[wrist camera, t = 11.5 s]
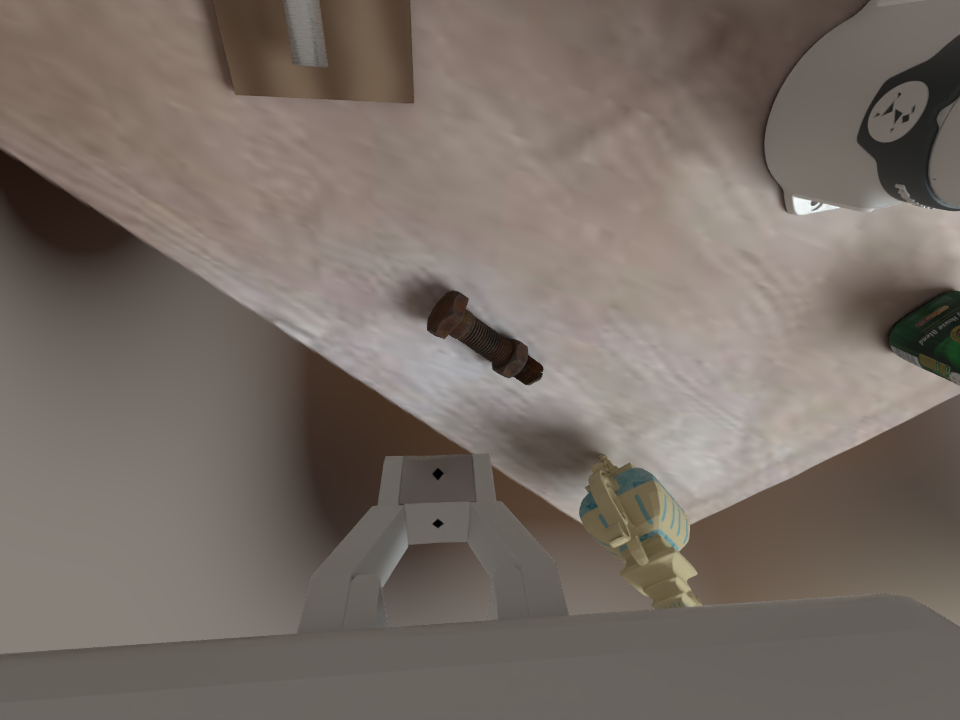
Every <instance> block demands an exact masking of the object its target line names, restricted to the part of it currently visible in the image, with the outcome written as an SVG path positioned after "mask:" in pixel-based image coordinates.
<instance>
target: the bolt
mask: <svg viewBox="0 0 960 720" xmlns="http://www.w3.org/2000/svg"><path fill="white" fill-rule="evenodd" d="M468 300H469V299H468V298H467V297H466V296H464V295H463V294H462V293H460V292H457V291H451V292H449V293H447V294H446V295H445V296H444V297H443V298H442V299H441V300H440V301H439V302H438V303H437V305H436V306H435V308H434V309H433V311H432V312H431V314H430V316H429V318H428V322H427V331H429V332H430V333H432V334H433V335H435V336H437V337H440V338H443V339H445V338H446V337H447V336H448V335H450V336H452V337H453V338H455V339H458V340H459V341H461V342H463V343H464V344H465V345H467V346H468V347H470V348H471V349H472V350H474V351H476V352H477V353H479V354H481V355H482V356H483V357H485V358H486V359H488V360H489V361H491V362H492V369H493V370H494V371H495V372H497V373H498V374H500V375H502V376H504V377H507V378H511V377H515V378H516V379H518V380H519V381H521V382H522V383H523V384H525V385H531V384H533V383H535V382H537V381H539V380H540V379H541V378H542V374H543V373H541V372H543V366H542V365H541V364H540V363H538V362H537V361H535V360H534V359H533V358H531V357H530V356H529V355H528V347H527V346H526V345H525V344H523V343H522V342H520V341H518V340H515V339H510V340H507V339H505V338H504V337H502V336H501V335H500V334H498V333H497V332H495V331H494V330H493V329H491V328H490V327H488V326H487V325H486V324H484V323H483V322H482V321H480V320H479V319H477V318H476V317H475V316H473V314H472V313H471V312H469V311H468V310H467V309H466V306H467V303H468Z"/></svg>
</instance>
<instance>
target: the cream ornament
mask: <svg viewBox="0 0 960 720" xmlns="http://www.w3.org/2000/svg"><path fill="white" fill-rule="evenodd" d="M599 457H600V459H601V460H602V461H603V463H602V464H601V463H600V462H599V463H597V464H595V465H594V466H592V467H591V468H590V469H591V471H592V472H593V475H591V476H590V477H589V485H588V486H587V487H585V489H586V490H587V491H588V492H589V493H588V494H587V495H586V497H585V498H584V499H583V501H582V503H581V506H580V512H579V515H580V518H581V521H582V523H583V525H584V526H585V528H586V530H587V531H588V533H589V534H590V535H591V536H592V537H593V538H594V539H595V540H596V541H597V542H598V543H599V544H600V545H601V546H602V547H603V548H604V549H605V550H606V551H607V552H609V553H610V554H611V555H612V556H614V557H616V558H617V559H619V560H620V561H622V562H624V563H625V564H626V567H625V568H624V569H623V570H622V571H620V574H621V576H622V577H623V578H624V579H625V580H626V581H627V582H629V583H630V584H631V585H632V586H633V587H635V588H636V589H637V590H638V591H640V592H641V593H642V594H643V595H645V596H649V597H650V598H651V599H653V604H652V607H654V608H655V609H666V608H680V607H695V606H702V604H701V602H700V600H699V598H698V597H697V596H696V597H694V595H693V593H692V592H691V589H690V587H689V586H688V584H687V579H688V578H690V577H693V576H695V575H697V572H696V570H695V569H694V567H693V566H692V565H691V564H690V563H689V562H688V561H687V560H686V559H685V558H684V557H683V556H682V555H681V554H680V553H679V551H680V550H681V549H682V548H683V547H684V546H685V545H686V544H687V542H688V540H689V532H690V525H689V522H688V518H687V515H686V514H685V512H684V510H683V509H682V508H681V507H680V506H679V504H678V503H677V502H676V501H675V500H674V498H673V497H672V496H671V495H670V494H669V493H668V491H667V490H666V489H665V488H664V487H663V486H662V485H661V483H660V482H659V481H658V480H657V479H656V478H655V477H654V476H653V475H652V474H651V473H649V472H648V471H646V470H644V469H641V468H635V467H634V466H633V465H632V464H631V463H628V464H626V465H624V466H623V467H621V468H618V467H617V466H613V463H612V462H611V461H610V460H608V458H607V456H603V455H600V456H599Z"/></svg>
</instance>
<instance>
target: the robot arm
mask: <svg viewBox="0 0 960 720" xmlns="http://www.w3.org/2000/svg"><path fill="white" fill-rule="evenodd" d="M764 146H765V157H766V162H767V165H768V168H769V170H770V172H771V174H772V176H773V177H774V178H775V180H776V181H777V182H778V183H779V184H780V186H781V187H782V189H783V191H784V199H785V205H786V209H787V211H788V212H789V213H790V214H794V215H806V214H812V213H817V212H823V211H828V210H833V209H839V208H846V209H850V210H855V211H860V212H871V211H872V210H874V209H876V208H885V207H889V206H893V205H897V204H901V203H904V202H908V203H912V205H915V206H919V207H923V208H928V209H935V208H936V209H942V210H948V211H960V0H870V1H869V2H868V3H867V4H866V5H865V7H864V8H863V9H862V10H861V11H859V12H858V13H857V14H856V15H854V16H853V17H851V18H850V19H848V20H846V21H845V22H843V23H842V24H840V25H838V26H837V27H835V28H834V29H833V30H831V31H830V32H828V33H827V34H826V35H825V36H823V37H822V38H821V39H820V40H819V41H818V42H816V43H815V44H814V45H813V46H812V47H811V48H810V49H809V50H808V51H807V52H806V54H805V55H804V56H803V57H802V58H801V59H800V61H799V62H798V63H797V64H796V66H795V67H794V68H793V70H792V71H791V73H790V74H789V76H788V77H787V79H786V80H785V82H784V84H783V85H782V87H781V89H780V91H779V93H778V95H777V97H776V99H775V101H774V104H773V106H772V109H771V112H770V115H769V119H768V122H767V127H766V132H765V145H764ZM811 201H813V202H812V203H811ZM436 542H468V544H469V546H470V547H471V549H472V550H473V552H474V553H475V555H476V557H477V558H478V560H479V561H480V562H481V564H482V566H483V567H484V569H485V570H486V572H487V573H488V575H489V577H490V578H491V580H492V581H493V582H492V588H491V595H490V601H489V608H488V614H487V621H474V622H459V623H444V624H430V625H415V626H402V627H387V626H388V623H387V618H386V612H385V606H384V600H383V594H382V587H383V586H384V584H385V583H386V581H387V579H388V578H389V576H390V575H391V573H392V571H393V569H394V568H395V567H396V565H397V563H398V562H399V560H400V559H401V557H402V555H403V554H404V552H405V551H406V549H407V547H408V545H410V544H423V543H436ZM0 720H960V627H959V626H958V625H957V624H955V623H953V622H952V621H950V620H949V619H947V618H945V617H943V616H942V615H941V614H939V613H937V612H935V611H934V610H932V609H931V608H929V607H927V606H925V605H923V604H922V603H920V602H918V601H916V600H914V599H913V598H911V597H908V596H905V595H900V594H889V593H884V594H871V595H855V596H842V597H826V598H811V599H797V600H784V601H783V600H782V601H767V602H754V603H738V604H724V605H711V606H710V605H709V606H695V607H680V608H666V609H652V610H637V611H622V612H608V613H593V614H578V615H569V614H568V610H567V605H566V601H565V597H564V593H563V589H562V585H561V581H560V576H559V573H558V568H557V564H556V562H555V561H554V560H553V559H552V558H551V557H550V555H549V554H548V553H547V552H546V551H545V550H544V549H543V548H542V546H541V545H540V544H539V543H538V542H537V541H536V540H535V539H534V537H533V536H532V535H531V534H530V533H529V532H528V531H527V530H526V528H525V527H524V526H523V525H522V524H521V523H520V522H519V521H518V519H516V517H515V516H514V515H513V514H512V513H511V512H510V511H509V510H508V508H507V507H506V506H505V505H504V504H503V503H502V502H501V501H496V496H495V489H494V481H493V474H492V467H491V459H490V456H489V454H472V455H471V454H464V455H463V454H462V455H438V456H386V458H385V460H384V466H383V472H382V479H381V486H380V493H379V500H378V506H372V507H371V508H370V510H369V511H368V512H367V513H366V514H365V515H364V516H363V518H362V519H361V520H360V521H359V522H358V523H357V524H356V526H355V527H354V528H353V529H352V530H351V532H349V534H348V535H347V536H346V537H345V539H343V541H342V542H341V543H340V544H339V545H338V546H337V547H336V549H335V550H334V551H333V552H332V553H331V554H330V555H329V557H328V558H327V559H326V560H325V561H324V562H323V564H322V565H321V566H320V567H319V568H318V569H317V570H316V572H315V573H314V574H313V575H312V578H311V581H310V585H309V589H308V593H307V596H306V600H305V604H304V608H303V612H302V616H301V619H300V623H299V627H298V631H297V634H284V635H269V636H254V637H240V638H225V639H210V640H196V641H181V642H167V643H152V644H137V645H123V646H110V647H109V646H108V647H93V648H79V649H65V650H49V651H35V652H21V653H5V654H0Z"/></svg>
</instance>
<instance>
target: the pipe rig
mask: <svg viewBox="0 0 960 720" xmlns="http://www.w3.org/2000/svg"><path fill="white" fill-rule="evenodd" d="M212 1H213V5H214V9H215V13H216V18H217V22H218V26H219V30H220V34H221V38H222V42H223V46H224V50H225V54H226V58H227V62H228V66H229V71H230V75H231V79H232V83H233V87H234V91H235V95H250V96H271V97H291V98H312V99H333V100H354V101H375V102H396V103H414V86H413V62H412V37H411V13H410V0H212Z"/></svg>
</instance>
